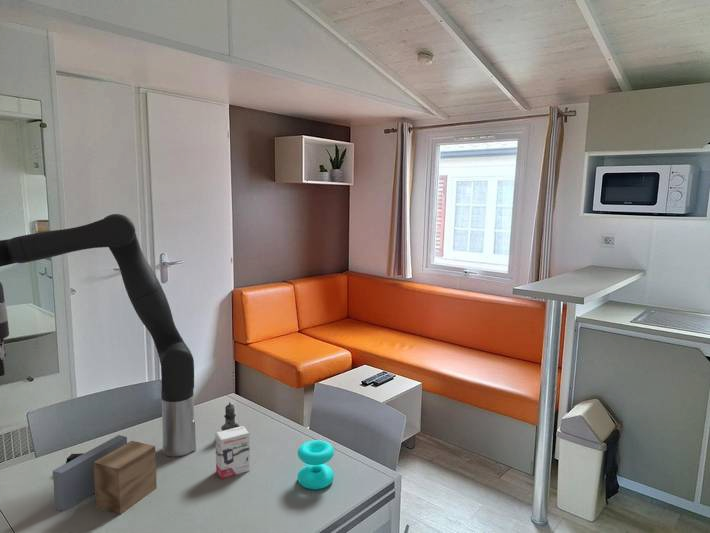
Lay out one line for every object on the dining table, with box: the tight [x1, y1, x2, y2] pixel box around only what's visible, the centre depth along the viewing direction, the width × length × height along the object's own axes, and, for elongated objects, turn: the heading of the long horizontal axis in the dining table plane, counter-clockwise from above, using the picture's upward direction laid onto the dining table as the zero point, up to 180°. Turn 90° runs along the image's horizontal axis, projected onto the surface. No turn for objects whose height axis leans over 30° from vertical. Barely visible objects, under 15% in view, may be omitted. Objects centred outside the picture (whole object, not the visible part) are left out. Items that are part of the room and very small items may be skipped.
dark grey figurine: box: [220, 402, 240, 431], centre depth 155 cm, size 6×6×12 cm
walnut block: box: [94, 440, 158, 516], centre depth 121 cm, size 8×12×12 cm, turn 160°
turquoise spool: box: [297, 439, 335, 490], centre depth 130 cm, size 10×10×10 cm
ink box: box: [214, 425, 251, 480], centre depth 134 cm, size 8×5×12 cm, turn 123°
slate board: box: [52, 434, 128, 512], centre depth 125 cm, size 3×20×10 cm, turn 160°
